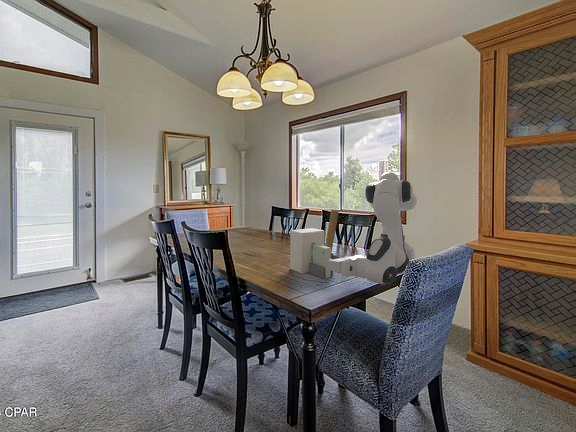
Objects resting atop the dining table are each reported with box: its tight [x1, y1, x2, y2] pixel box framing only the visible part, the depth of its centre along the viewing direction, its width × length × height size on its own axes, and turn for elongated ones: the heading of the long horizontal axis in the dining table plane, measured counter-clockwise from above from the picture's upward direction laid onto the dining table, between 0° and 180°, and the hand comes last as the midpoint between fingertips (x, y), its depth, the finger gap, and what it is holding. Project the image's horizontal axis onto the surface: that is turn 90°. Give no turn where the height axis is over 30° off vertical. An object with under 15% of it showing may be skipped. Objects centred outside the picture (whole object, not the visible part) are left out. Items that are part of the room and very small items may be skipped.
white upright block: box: [313, 244, 332, 279], centre depth 149 cm, size 10×4×14 cm, turn 33°
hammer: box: [324, 209, 344, 259], centre depth 174 cm, size 20×5×30 cm, turn 46°
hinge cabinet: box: [289, 227, 334, 279], centre depth 154 cm, size 22×14×20 cm, turn 33°
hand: (336, 259), depth 139 cm, fingers open, 8 cm apart
